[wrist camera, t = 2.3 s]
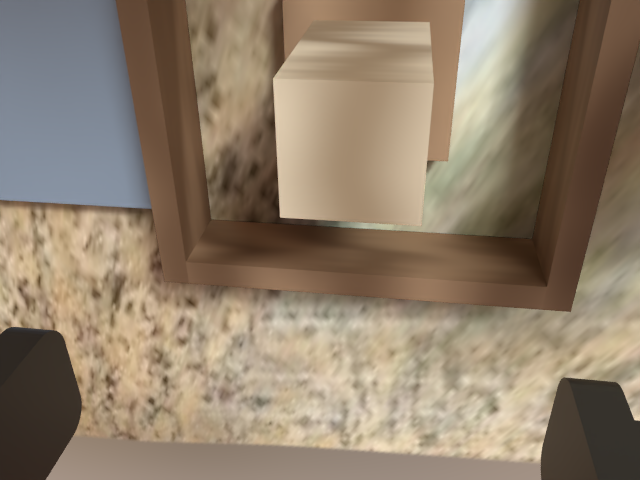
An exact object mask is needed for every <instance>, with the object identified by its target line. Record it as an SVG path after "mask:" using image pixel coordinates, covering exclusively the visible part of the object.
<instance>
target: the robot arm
mask: <svg viewBox="0 0 640 480" xmlns="http://www.w3.org/2000/svg"><path fill="white" fill-rule="evenodd" d="M81 406H82V402H81V395H80V392H79V388H78V385H77V382H76V378H75V375H74V371H73V368H72V365H71V361H70V358H69V354H68V351H67V348H66V344H65V341H64V338H63V336H62V335H61V334H60V333H59V332H57V331H54V330H43V329H32V328H20V327H11V328H8V329H6V330H5V331H3V332H2V333H1V334H0V480H46V478H47V477H48V475H49V473H50V472H51V470H52V468H53V467H54V465H55V464H56V462H57V461H58V459H59V457H60V456H61V454H62V453H63V451H64V449H65V448H66V446H67V444H68V443H69V441H70V440H71V438H72V437H73V435H74V433H75V431H76V429H77V426H78V423H79V420H80V415H81ZM541 480H640V421H636V420H634V418H633V416H632V413H631V411H630V408H629V405H628V403H627V400H626V398H625V395H624V393H623V390H622V388H621V387H620V385H619V384H618V383H616V382H608V381H597V380H586V379H575V378H562V379H561V381H560V383H559V385H558V389H557V392H556V396H555V400H554V404H553V408H552V412H551V416H550V419H549V423H548V427H547V431H546V435H545V439H544V443H543V447H542V454H541Z"/></svg>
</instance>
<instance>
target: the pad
mask: <svg viewBox="0 0 640 480" xmlns="http://www.w3.org/2000/svg"><path fill="white" fill-rule="evenodd" d="M0 200H10V201H27V202H44V203H61V204H78V205H95V206H112V207H129V208H146V209H152V207H151V201H150V196H149V190H148V184H147V178H146V173H145V167H144V161H143V155H142V150H141V144H140V138H139V133H138V127H137V121H136V115H135V110H134V104H133V98H132V92H131V87H130V81H129V75H128V70H127V64H126V58H125V52H124V47H123V41H122V35H121V29H120V24H119V18H118V12H117V6H116V1H115V0H0Z"/></svg>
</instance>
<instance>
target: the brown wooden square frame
mask: <svg viewBox="0 0 640 480" xmlns="http://www.w3.org/2000/svg"><path fill="white" fill-rule="evenodd" d="M115 1H116V6H117V12H118V18H119V24H120V29H121V35H122V41H123V47H124V52H125V58H126V64H127V70H128V75H129V81H130V87H131V92H132V98H133V104H134V110H135V115H136V121H137V127H138V133H139V138H140V144H141V150H142V155H143V161H144V167H145V173H146V178H147V184H148V190H149V196H150V201H151V207H152V213H153V218H154V224H155V230H156V236H157V241H158V247H159V253H160V259H161V264H162V270H163V276H164V282H177V283H190V284H204V285H217V286H231V287H244V288H258V289H271V290H285V291H298V292H312V293H325V294H339V295H352V296H366V297H379V298H393V299H406V300H420V301H433V302H447V303H460V304H474V305H487V306H501V307H514V308H528V309H541V310H555V311H568V312H571V308H572V304H573V301H574V297H575V293H576V289H577V285H578V281H579V277H580V273H581V269H582V265H583V261H584V258H585V254H586V250H587V246H588V242H589V238H590V234H591V230H592V226H593V222H594V218H595V215H596V211H597V207H598V203H599V199H600V195H601V191H602V187H603V183H604V179H605V175H606V171H607V168H608V164H609V160H610V156H611V152H612V148H613V144H614V140H615V136H616V132H617V128H618V125H619V121H620V117H621V113H622V109H623V105H624V101H625V97H626V93H627V89H628V85H629V82H630V78H631V74H632V70H633V66H634V62H635V58H636V54H637V50H638V46H639V42H640V0H580V2H579V7H578V12H577V17H576V22H575V27H574V32H573V37H572V42H571V47H570V52H569V57H568V62H567V67H566V72H565V77H564V82H563V87H562V92H561V97H560V102H559V107H558V112H557V117H556V122H555V127H554V132H553V137H552V142H551V147H550V152H549V158H548V163H547V168H546V173H545V178H544V183H543V188H542V193H541V198H540V203H539V208H538V213H537V218H536V223H535V228H534V233H533V238H532V239H523V238H506V237H490V236H473V235H456V234H440V233H423V232H407V231H390V230H373V229H357V228H340V227H324V226H307V225H291V224H274V223H257V222H241V221H224V220H211V215H210V206H209V198H208V189H207V181H206V173H205V164H204V156H203V147H202V139H201V130H200V122H199V113H198V105H197V97H196V88H195V80H194V71H193V63H192V54H191V46H190V37H189V29H188V21H187V12H186V4H185V0H115ZM282 4H283V29H284V54H285V61H286V59H287V58H288V57H289V55H290V54H291V52H292V51H293V50H294V48H295V47H296V45H297V44H298V42H299V41H300V40H301V38H302V37H303V35H304V34H305V33H306V31H307V30H308V28H309V27H310V25H311V24H312V23H313V21H314V20H336V21H391V22H430V35H431V49H432V63H433V77H434V89H433V100H432V111H431V123H430V134H429V146H428V157H427V160H432V161H448V155H449V146H450V137H451V127H452V118H453V109H454V99H455V90H456V80H457V71H458V62H459V52H460V43H461V34H462V24H463V15H464V6H465V0H282Z"/></svg>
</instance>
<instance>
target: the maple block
mask: <svg viewBox="0 0 640 480" xmlns="http://www.w3.org/2000/svg"><path fill="white" fill-rule="evenodd" d="M273 89H274V108H275V128H276V148H277V167H278V187H279V207H280V218H296V219H313V220H329V221H346V222H363V223H380V224H397V225H414V226H422V214H423V203H424V191H425V180H426V168H427V157H428V146H429V134H430V123H431V111H432V100H433V89H434V77H433V63H432V49H431V35H430V22H391V21H336V20H314V21H313V23H312V24H311V25H310V27H309V28H308V30H307V31H306V33H305V34H304V35H303V37H302V38H301V40H300V41H299V42H298V44H297V45H296V47H295V48H294V50H293V51H292V52H291V54H290V55H289V57H288V58H287V59H286V61H285V62H284V64H283V65H282V67H281V68H280V69H279V71H278V72H277V74H276V75H275V77H274V78H273Z"/></svg>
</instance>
